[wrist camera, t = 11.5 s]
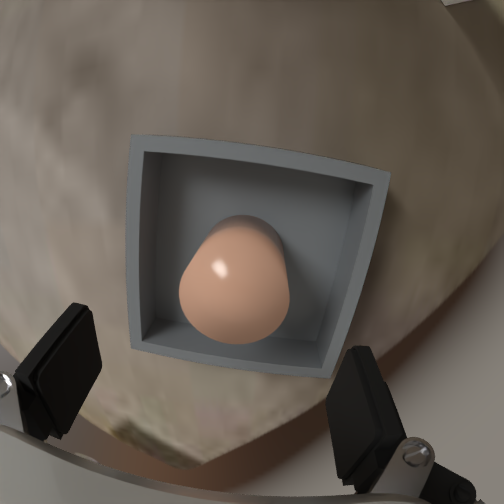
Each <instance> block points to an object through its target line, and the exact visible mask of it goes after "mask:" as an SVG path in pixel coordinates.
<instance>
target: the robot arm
mask: <svg viewBox="0 0 504 504" xmlns="http://www.w3.org/2000/svg"><path fill="white" fill-rule="evenodd" d="M101 369H102V360H101V356H100V351H99V346H98V341H97V336H96V331H95V325H94V319H93V314H92V311H91V310H89V308H88V306H86V305H83V304H79V303H72V304H71V305H70V306H69V307H68V308H67V309H66V310H65V312H64V313H63V314H62V315H61V316H60V317H59V318H58V320H57V321H56V322H55V323H54V324H53V325H52V326H51V328H50V329H49V330H48V331H47V332H46V333H45V335H44V336H43V337H42V338H41V339H40V341H39V342H38V343H37V344H36V345H35V347H34V348H33V349H32V350H31V352H30V353H29V354H28V355H27V357H26V358H25V359H24V360H23V362H22V363H21V364H20V366H19V367H18V368H17V369H16V370H15V372H16V373H15V374H14V375H13V376H12V375H11V374H9V373H8V372H4V371H0V504H485V503H484V502H483V501H482V500H481V499H480V500H479V501H477V500H476V490H475V487H474V486H473V484H472V483H471V482H470V481H469V480H467V479H465V478H463V477H461V476H459V475H458V474H456V473H454V472H452V471H450V470H448V469H446V468H445V467H443V466H441V465H439V464H437V463H436V462H434V460H435V453H434V450H433V448H432V446H431V445H430V444H429V443H428V442H427V441H425V440H424V439H421V438H418V437H410V438H407V436H406V433H405V431H404V428H403V425H402V422H401V419H400V417H399V414H398V412H397V409H396V406H395V403H394V401H393V398H392V395H391V393H390V390H389V388H388V385H387V384H386V382H384V381H383V378H382V376H381V373H380V371H379V368H378V366H377V363H376V361H375V358H374V356H373V353H372V351H371V349H370V347H369V346H353V347H352V349H348V350H347V352H346V354H345V357H344V359H343V361H342V364H341V366H340V368H339V371H338V373H337V375H336V377H335V380H334V382H333V384H332V386H331V389H330V391H329V393H328V395H327V398H326V410H327V416H328V422H329V427H330V433H331V439H332V445H333V450H334V457H335V464H336V470H337V476H338V478H339V479H342V482H343V486H345V485H354V488H355V490H356V492H355V493H354V494H351V495H336V496H313V497H312V496H311V497H280V496H257V495H244V494H233V493H224V492H215V491H209V490H202V489H196V488H189V487H184V486H179V485H174V484H169V483H165V482H160V481H156V480H152V479H147V478H144V477H140V476H136V475H133V474H129V473H125V472H122V471H119V470H116V469H113V468H110V467H106V466H104V465H101V464H98V463H95V462H92V461H89V460H87V459H84V458H81V457H79V456H76V455H74V454H71V453H69V452H66V451H64V450H61V449H59V448H57V447H54V446H52V445H50V444H48V443H47V438H48V436H49V435H51V436H53V437H55V438H57V439H60V440H61V438H62V436H63V434H67V433H68V431H69V430H70V428H71V426H72V424H73V422H74V420H75V418H76V416H77V414H78V412H79V410H80V408H81V406H82V405H83V403H84V401H85V399H86V397H87V395H88V393H89V391H90V390H91V388H92V386H93V384H94V382H95V380H96V379H97V377H98V375H99V373H100V371H101Z"/></svg>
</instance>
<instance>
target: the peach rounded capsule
mask: <svg viewBox="0 0 504 504" xmlns="http://www.w3.org/2000/svg"><path fill="white" fill-rule="evenodd" d="M179 299H180V304H181V307H182V310H183V312H184V314H185V316H186V317H187V319H188V321H189V322H190V323H191V324H192V325H193V326H194V327H195V328H196V329H197V330H198V331H199V332H201V333H202V334H204V335H205V336H207V337H209V338H211V339H213V340H216V341H219V342H222V343H227V344H248V343H252V342H256V341H258V340H261V339H263V338H265V337H267V336H268V335H270V334H271V333H273V332H274V331H275V330H276V329H277V328H278V327H279V326H280V325H281V323H282V322H283V320H284V318H285V316H286V314H287V311H288V308H289V301H290V295H289V287H288V279H287V272H286V264H285V257H284V250H283V244H282V241H281V239H280V237H279V235H278V233H277V232H276V231H275V229H274V228H273V227H272V226H271V225H270V224H268V223H267V222H265V221H264V220H262V219H260V218H257V217H254V216H250V215H235V216H231V217H228V218H225V219H223V220H222V221H220V222H218V223H217V224H216V225H215V226H214V227H213V228H212V229H211V230H210V232H209V233H208V235H207V237H206V238H205V240H204V241H203V243H202V244H201V246H200V248H199V249H198V251H197V252H196V254H195V255H194V257H193V259H192V260H191V262H190V263H189V265H188V267H187V268H186V270H185V271H184V273H183V276H182V278H181V281H180V286H179Z"/></svg>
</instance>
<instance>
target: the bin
mask: <svg viewBox="0 0 504 504" xmlns="http://www.w3.org/2000/svg"><path fill="white" fill-rule="evenodd" d="M390 176H391V172H387V171H384V170H380V169H377V168H373V167H369V166H365V165H361V164H357V163H352V162H348V161H343V160H338V159H334V158H329V157H324V156H319V155H314V154H308V153H303V152H297V151H291V150H286V149H279V148H273V147H267V146H260V145H253V144H245V143H238V142H229V141H221V140H211V139H201V138H190V137H178V136H163V135H131V141H130V151H129V163H128V178H127V197H126V286H127V305H128V320H129V332H130V342H131V348H132V349H136V350H140V351H145V352H149V353H153V354H158V355H162V356H167V357H172V358H177V359H182V360H187V361H192V362H198V363H203V364H209V365H215V366H221V367H227V368H234V369H241V370H248V371H256V372H264V373H272V374H282V375H292V376H303V377H316V378H331V375H332V373H333V370H334V368H335V365H336V362H337V360H338V357H339V355H340V352H341V349H342V347H343V344H344V341H345V338H346V336H347V333H348V330H349V327H350V324H351V321H352V318H353V315H354V312H355V309H356V306H357V303H358V300H359V297H360V294H361V291H362V287H363V284H364V281H365V277H366V274H367V271H368V267H369V264H370V260H371V256H372V253H373V249H374V245H375V242H376V238H377V234H378V230H379V226H380V222H381V218H382V213H383V209H384V205H385V200H386V196H387V191H388V186H389V181H390ZM235 215H250V216H254V217H257V218H260V219H262V220H264V221H265V222H267V223H268V224H270V225H271V226H272V227H273V228H274V229H275V231H276V232H277V233H278V235H279V237H280V239H281V241H282V244H283V250H284V257H285V264H286V272H287V279H288V287H289V295H290V301H289V308H288V311H287V314H286V316H285V318H284V320H283V322H282V323H281V325H280V326H279V327H278V328H277V329H276V330H275V331H274V332H273V333H271V334H270V335H268V336H267V337H265V338H263V339H261V340H258V341H256V342H252V343H248V344H227V343H222V342H219V341H216V340H213V339H211V338H209V337H207V336H205V335H204V334H202V333H201V332H199V331H198V330H197V329H196V328H195V327H194V326H193V325H192V324H191V323H190V322H189V321H188V319H187V317H186V316H185V314H184V312H183V310H182V307H181V304H180V299H179V286H180V281H181V278H182V276H183V273H184V271H185V270H186V268H187V267H188V265H189V263H190V262H191V260H192V259H193V257H194V255H195V254H196V252H197V251H198V249H199V248H200V246H201V244H202V243H203V241H204V240H205V238H206V237H207V235H208V233H209V232H210V230H211V229H212V228H213V227H214V226H215V225H216V224H217V223H218V222H220V221H222V220H223V219H225V218H228V217H231V216H235Z"/></svg>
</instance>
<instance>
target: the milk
mask: <svg viewBox="0 0 504 504" xmlns="http://www.w3.org/2000/svg"><path fill="white" fill-rule="evenodd" d="M441 1H442V2H443V4H444V5H445V6H447V5H451V4H456V3H461V2H465V1H471V0H441Z"/></svg>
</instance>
